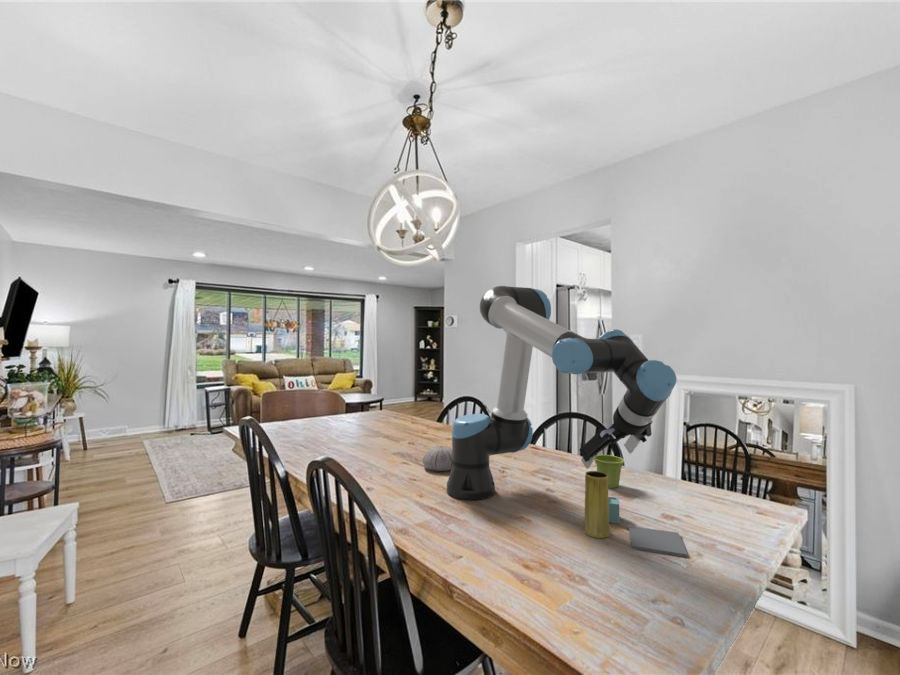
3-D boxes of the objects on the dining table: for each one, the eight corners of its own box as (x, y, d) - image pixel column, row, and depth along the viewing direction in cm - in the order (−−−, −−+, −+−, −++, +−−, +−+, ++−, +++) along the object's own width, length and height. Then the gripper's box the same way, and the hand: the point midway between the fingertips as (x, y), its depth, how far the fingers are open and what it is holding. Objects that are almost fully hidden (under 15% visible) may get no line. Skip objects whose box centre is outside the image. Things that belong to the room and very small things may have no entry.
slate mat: (632, 548, 92) (632, 545, 92) (628, 528, 102) (628, 525, 102) (687, 557, 88) (687, 554, 88) (678, 535, 99) (678, 532, 99)
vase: (609, 529, 102) (609, 471, 102) (610, 540, 96) (610, 479, 96) (584, 525, 104) (583, 469, 104) (583, 536, 98) (583, 476, 98)
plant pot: (619, 480, 138) (618, 455, 139) (628, 490, 129) (628, 463, 129) (590, 479, 139) (590, 454, 140) (597, 489, 130) (597, 462, 130)
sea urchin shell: (417, 466, 156) (417, 444, 156) (448, 461, 162) (448, 440, 162) (432, 475, 144) (432, 452, 144) (465, 470, 150) (465, 448, 150)
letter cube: (598, 521, 107) (598, 501, 107) (598, 513, 111) (598, 494, 112) (619, 524, 105) (619, 503, 105) (618, 516, 110) (618, 497, 110)
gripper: (597, 442, 90) (574, 483, 105) (688, 411, 96) (653, 454, 111) (579, 414, 95) (559, 457, 110) (666, 387, 101) (636, 431, 116)
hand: (606, 456), depth 111 cm, fingers open, 13 cm apart
